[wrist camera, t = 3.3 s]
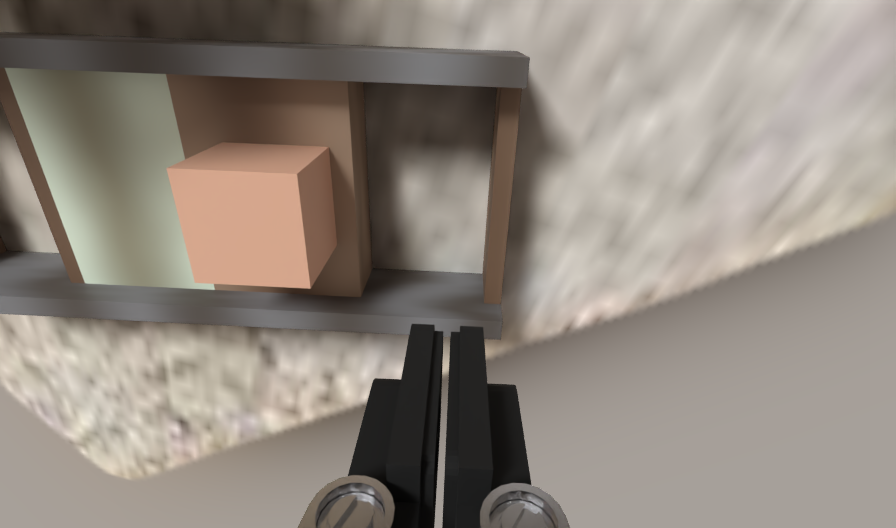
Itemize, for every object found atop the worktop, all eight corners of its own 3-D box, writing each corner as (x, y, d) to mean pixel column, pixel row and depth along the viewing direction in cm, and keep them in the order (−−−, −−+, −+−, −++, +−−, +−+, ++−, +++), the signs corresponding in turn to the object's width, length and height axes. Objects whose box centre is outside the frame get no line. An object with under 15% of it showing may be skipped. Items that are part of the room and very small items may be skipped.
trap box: (517, 51, 20) (529, 57, 16) (495, 290, 26) (500, 339, 22) (-110, 27, 21) (-250, 28, 17) (-1, 266, 26) (-85, 309, 22)
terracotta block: (328, 146, 19) (296, 174, 16) (337, 245, 21) (310, 288, 18) (221, 142, 19) (166, 168, 16) (240, 240, 21) (194, 282, 18)
